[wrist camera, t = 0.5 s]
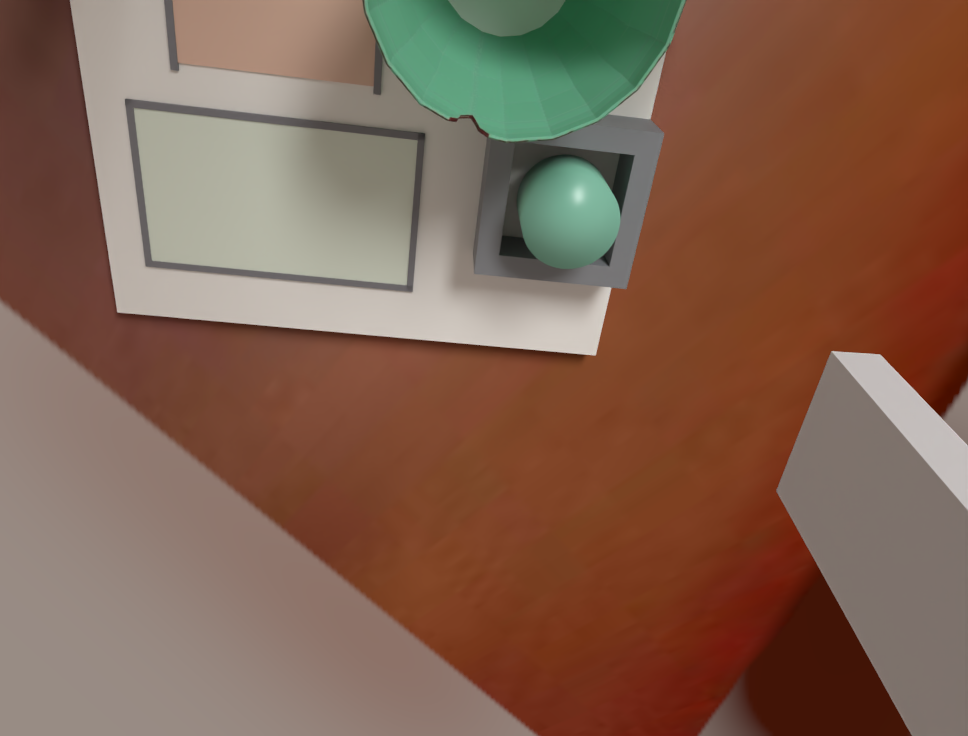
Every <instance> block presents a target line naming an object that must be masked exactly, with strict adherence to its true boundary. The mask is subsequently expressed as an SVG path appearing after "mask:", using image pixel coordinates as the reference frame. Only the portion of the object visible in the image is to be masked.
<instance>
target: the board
mask: <svg viewBox="0 0 968 736" xmlns="http://www.w3.org/2000/svg"><path fill="white" fill-rule="evenodd" d="M448 1H449V2H450V3H451V5H452V6H453V7H454V9H455V10H456V11H457V13H458V14H459V15H460V17H461V18H462V19H464V20H465V21H467V22H468V23H470V24H471V25H473V26H474V27H476V28H477V29H479V30H480V31H482V32H485V33H489V34H492V35H496V36H499V37H502V36H518V35H523V34H525V33H528V32H530V31H532V30H535V29H537V28H540V27H541V26H543V25H544V24H545V23H546V22H547V21H548V20H549V19H551V18H552V17H553V16H554V15H555V14H556V13H558V11H559V10H560V8H561V7H562V5H563V3H564V2H565V0H448ZM70 5H71V11H72V18H73V25H74V31H75V38H76V44H77V51H78V57H79V64H80V71H81V77H82V84H83V90H84V97H85V103H86V110H87V117H88V123H89V130H90V136H91V143H92V149H93V156H94V162H95V169H96V176H97V182H98V189H99V195H100V202H101V208H102V215H103V222H104V228H105V235H106V241H107V248H108V254H109V261H110V268H111V274H112V281H113V287H114V294H115V300H116V307H117V312H119V313H130V314H141V315H152V316H163V317H174V318H185V319H196V320H207V321H219V322H230V323H241V324H252V325H263V326H274V327H285V328H296V329H307V330H318V331H330V332H341V333H352V334H363V335H374V336H385V337H396V338H407V339H418V340H429V341H441V342H452V343H463V344H474V345H485V346H496V347H507V348H518V349H529V350H540V351H552V352H563V353H574V354H585V355H596V351H597V347H598V343H599V338H600V334H601V330H602V326H603V321H604V317H605V313H606V308H607V304H608V300H609V295H610V291H611V288H621V289H626V288H627V284H628V280H629V276H630V272H631V268H632V264H633V260H634V256H635V251H636V247H637V243H638V239H639V235H640V231H641V227H642V223H643V219H644V215H645V210H646V206H647V202H648V198H649V194H650V190H651V186H652V182H653V178H654V174H655V169H656V165H657V161H658V157H659V153H660V149H661V145H662V141H663V137H664V133H663V132H662V131H661V130H660V129H659V128H658V127H657V126H656V125H655V124H654V123H653V122H652V121H651V120H650V119H651V114H652V110H653V106H654V101H655V97H656V93H657V88H658V84H659V80H660V76H661V71H662V67H663V63H664V58H665V54H666V52H665V53H664V55H663V56H662V58H661V59H660V60H659V62H658V63H657V65H656V66H655V67H654V69H653V70H652V72H651V73H650V74H649V76H648V77H647V79H646V80H645V81H644V83H643V84H642V86H641V87H640V88H639V90H638V91H637V92H636V93H634V94H633V95H632V96H631V97H629V98H628V99H627V100H626V101H624V102H623V103H622V104H621V105H619V106H618V107H617V108H615V109H614V110H613V111H612V112H610V113H609V114H608V115H607V116H605V117H604V118H603V119H602V120H600V121H599V122H598V123H595V124H593V125H590V126H588V127H585V128H582V129H580V130H577V131H575V132H572V133H570V134H567V135H565V136H562V137H560V138H557V139H555V140H547V141H531V142H515V143H504V142H500V141H496V140H493V139H489V138H487V137H485V136H484V135H483V134H481V133H480V132H478V130H477V128H476V126H475V125H474V123H473V121H472V120H471V119H468V118H466V119H458V120H457V122H452V121H446V120H445V119H443V118H441V117H440V116H438V115H436V114H434V113H433V112H431V111H429V110H428V109H426V108H424V107H423V106H421V105H419V104H418V102H417V101H416V100H415V99H414V98H413V96H412V95H411V94H410V93H409V92H408V90H407V89H406V88H405V87H404V86H403V84H402V83H401V82H400V81H399V79H398V78H397V77H396V76H395V75H394V73H393V72H392V71H391V70H390V69H389V67H388V66H387V65H386V63H385V61H384V59H383V56H382V54H381V52H380V49H379V47H378V45H377V42H376V40H375V38H374V35H373V33H372V31H371V28H370V26H369V24H368V21H367V19H366V17H365V14H364V9H363V1H362V0H70ZM562 154H569V155H575V156H579V157H582V158H584V159H586V160H588V161H589V162H591V163H592V164H593V165H594V166H595V167H597V169H598V170H599V171H600V173H601V174H602V176H603V178H604V179H605V181H606V183H607V184H608V186H609V188H610V190H611V191H612V193H613V195H614V196H615V198H616V200H617V203H618V206H619V210H620V227H619V231H618V234H617V237H616V239H615V241H614V243H613V244H612V246H611V247H610V248H609V250H608V251H607V252H606V253H605V254H604V255H603V256H602V257H600V258H599V259H598V260H596V261H595V262H593V263H591V264H589V265H586V266H583V267H580V268H575V269H560V268H555V267H552V266H549V265H547V264H545V263H543V262H541V261H540V260H538V259H537V258H536V257H535V256H534V255H533V254H532V253H531V252H530V250H529V249H528V247H527V245H526V243H525V241H524V238H523V234H522V229H521V225H520V220H519V215H518V210H517V193H518V189H519V186H520V183H521V181H522V179H523V178H524V176H525V175H526V173H527V172H528V171H529V170H530V169H531V168H532V167H533V166H534V165H535V164H537V163H538V162H540V161H542V160H544V159H546V158H548V157H551V156H555V155H562Z"/></svg>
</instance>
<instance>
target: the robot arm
mask: <svg viewBox="0 0 968 736" xmlns="http://www.w3.org/2000/svg"><path fill="white" fill-rule="evenodd" d="M776 491H777V493H778V495H779V497H780V498H781V500H782V502H783V504H784V506H785V507H786V509H787V511H788V513H789V515H790V516H791V518H792V520H793V522H794V524H795V525H796V527H797V529H798V531H799V533H800V534H801V536H802V538H803V540H804V542H805V544H806V545H807V547H808V549H809V551H810V553H811V554H812V556H813V558H814V560H815V562H816V563H817V565H818V567H819V569H820V571H821V572H822V574H823V576H824V578H825V580H826V581H827V583H828V585H829V586H830V589H831V590H832V592H833V594H834V595H835V598H836V599H837V601H838V603H839V605H840V607H841V608H842V610H843V612H844V614H845V616H846V618H847V619H848V621H849V623H850V625H851V626H852V628H853V630H854V632H855V634H856V636H857V637H858V639H859V641H860V643H861V645H862V646H863V648H864V650H865V652H866V654H867V655H868V657H869V659H870V661H871V663H872V664H873V666H874V668H875V670H876V672H877V673H878V675H879V677H880V679H881V681H882V682H883V684H884V686H885V688H886V690H887V692H888V693H889V695H890V697H891V699H892V700H893V702H894V704H895V706H896V708H897V710H898V711H899V713H900V715H901V717H902V719H903V720H904V722H905V724H906V726H907V728H908V729H909V731H910V733H911V735H912V736H968V445H967V444H966V443H965V442H964V441H963V440H962V439H961V438H960V437H959V436H958V435H957V434H956V433H955V432H954V431H953V430H952V429H951V428H950V427H949V426H948V425H947V424H946V423H945V421H944V420H943V419H942V418H941V417H940V416H939V415H938V414H937V413H936V412H935V411H934V410H933V409H932V408H931V407H930V406H929V405H928V404H927V403H926V402H925V401H924V400H923V399H922V398H921V397H920V395H919V394H918V393H917V392H916V391H915V390H914V389H913V388H912V387H911V386H910V385H909V384H908V383H907V382H906V381H905V380H904V379H903V378H902V377H901V376H900V375H899V374H898V373H897V372H896V371H895V369H894V368H893V367H892V366H891V365H890V364H889V363H888V362H887V361H886V360H885V359H884V358H883V357H882V356H881V355H880V354H865V353H850V352H835V351H831V354H830V356H829V359H828V361H827V364H826V366H825V369H824V371H823V374H822V376H821V379H820V382H819V384H818V387H817V389H816V392H815V394H814V397H813V399H812V402H811V404H810V407H809V409H808V412H807V414H806V417H805V419H804V422H803V425H802V427H801V430H800V432H799V435H798V437H797V440H796V442H795V445H794V447H793V450H792V452H791V455H790V457H789V460H788V463H787V465H786V468H785V470H784V473H783V475H782V478H781V480H780V483H779V485H778V488H777V490H776Z"/></svg>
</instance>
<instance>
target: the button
mask: <svg viewBox="0 0 968 736" xmlns="http://www.w3.org/2000/svg"><path fill="white" fill-rule="evenodd" d="M517 210H518V215H519V220H520V225H521V229H522V234H523V238H524V241H525V243H526V245H527V247H528V249H529V250H530V252H531V253H532V254H533V255H534V256H535V257H536V258H537V259H538V260H540V261H541V262H543V263H545V264H547V265H549V266H552V267H555V268H560V269H575V268H580V267H583V266H586V265H589V264H591V263H593V262H595V261H596V260H598V259H599V258H600V257H602V256H603V255H604V254H605V253H606V252H607V251H608V250H609V248H610V247H611V246H612V244H613V243H614V241H615V239H616V237H617V234H618V231H619V227H620V210H619V206H618V203H617V200H616V198H615V196H614V195H613V193H612V191H611V190H610V188H609V186H608V184H607V183H606V181H605V179H604V178H603V176H602V174H601V173H600V171H599V170H598V169H597V167H595V166H594V165H593V164H592V163H591V162H589V161H588V160H586V159H584V158H582V157H579V156H575V155H569V154H562V155H555V156H551V157H548V158H546V159H544V160H542V161H540V162H538V163H537V164H535V165H534V166H533V167H532V168H531V169H530V170H529V171H528V172H527V173H526V175H525V176H524V178H523V179H522V181H521V183H520V186H519V189H518V193H517Z"/></svg>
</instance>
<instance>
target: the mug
mask: <svg viewBox="0 0 968 736" xmlns="http://www.w3.org/2000/svg"><path fill="white" fill-rule="evenodd" d="M362 1H363V9H364V14H365V17H366V19H367V21H368V24H369V26H370V28H371V31H372V33H373V35H374V38H375V40H376V42H377V45H378V47H379V49H380V52H381V54H382V56H383V59H384V61H385V63H386V65H387V66H388V67H389V69H390V70H391V71H392V72H393V73H394V75H395V76H396V77H397V78H398V79H399V81H400V82H401V83H402V84H403V86H404V87H405V88H406V89H407V90H408V92H409V93H410V94H411V95H412V96H413V98H414V99H415V100H416V101H417V102H418V104H419V105H421V106H423V107H424V108H426V109H428V110H429V111H431V112H433V113H434V114H436V115H438V116H440V117H441V118H443V119H445V120H446V121H452V122H457V120H458V119H466V118H468V119H471V120H472V121H473V123H474V125H475V126H476V128H477V130H478V132H480V133H481V134H483V135H484V136H485V137H487V138H489V139H493V140H496V141H500V142H504V143H515V142H531V141H547V140H555V139H557V138H560V137H562V136H565V135H567V134H570V133H572V132H575V131H577V130H580V129H582V128H585V127H588V126H590V125H593V124H595V123H598V122H599V121H600V120H602V119H603V118H604V117H605V116H607V115H608V114H609V113H610V112H612V111H613V110H614V109H615V108H617V107H618V106H619V105H621V104H622V103H623V102H624V101H626V100H627V99H628V98H629V97H631V96H632V95H633V94H634V93H636V92H637V91H638V90H639V88H640V87H641V86H642V84H643V83H644V81H645V80H646V79H647V77H648V76H649V74H650V73H651V72H652V70H653V69H654V67H655V66H656V65H657V63H658V62H659V60H660V59H661V58H662V56H663V55H664V53H665V52H666V51H667V49H668V48H669V46H670V44H671V41H672V38H673V36H674V33H675V30H676V27H677V25H678V22H679V19H680V16H681V14H682V11H683V8H684V6H685V3H686V0H565V2H564V3H563V5H562V7H561V8H560V10H559V11H558V13H556V14H555V15H554V16H553V17H552V18H551V19H549V20H548V21H547V22H546V23H545V24H544V25H543V26H541V27H540V28H537V29H535V30H532V31H530V32H528V33H525V34H523V35H518V36H502V37H499V36H496V35H492V34H489V33H485V32H482V31H480V30H479V29H477V28H476V27H474V26H473V25H471V24H470V23H468V22H467V21H465V20H464V19H462V18H461V17H460V15H459V14H458V13H457V11H456V10H455V9H454V7H453V6H452V5H451V3H450V2H449V1H448V0H362Z"/></svg>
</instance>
